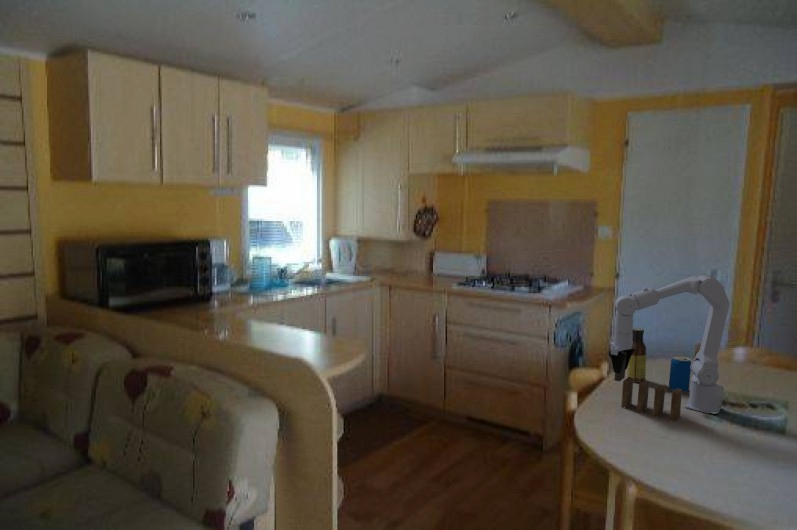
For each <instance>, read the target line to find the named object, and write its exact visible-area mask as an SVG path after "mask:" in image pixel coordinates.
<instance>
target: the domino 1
mask: <svg viewBox="0 0 797 530" xmlns="http://www.w3.org/2000/svg"><path fill="white" fill-rule="evenodd" d="M621 353H622V354H625V355H626V354H627V352H621ZM625 366H626V358H625V360H624V363H623V367H622V371H621V373H620V374H619V373H614V381H616V382H621V381H622V380H625V379H626V370H625Z"/></svg>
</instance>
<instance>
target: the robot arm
mask: <svg viewBox="0 0 797 530" xmlns="http://www.w3.org/2000/svg"><path fill="white" fill-rule="evenodd" d="M683 293H689V294H694V295H698V294H699V295H701V296H703V297H704V299H705V300H706V301H707V303H708V304H709V305H710V306H709V310H708V314H707V319H706V323H705V327H704V331H703V335H702V340H701V343H700V347H699V348H700V349H699V351H698V352H697V353H696V354H695V358H694V359H693V360H692V361H691V366H690V369H691V373H692V376H691V377H690V385H689V397H688V398H689V399H688V402H687V403H686V404H685V406H684V408H686V409H690V410H693V411H697V412H702V413H706V414H709V413H711V412H718V410H719V408H721V407H722V408H723V399H724V386H723V385H721V384H718V383H717V382H718V381H719V377H720V373H719V370H718V368H719V360H718V355H719V349H720V346H721V343H722V342H721V341H722V339H723V335H724V334H723V333H724V329H725V325H726V322H727V317H728V314H729V309H730V304H731V303H730V301H729V297H728V295H727V293H726V290H725V286H724V285H723V284H722V283H721V281H719V280H717V279H716V278H713V277H711V276H710V275H708V274H706V273H699V274H697V275H692V276H688V277H686V278H684V279H681V280H678V281H676V282H673V283H671V284H668V285H666V286H663V287H660V288H657V289H654V288H652V287H647V286H645V287H642V290H639V291H636V292H634V293H632V292H629V293H627V295H621V296H618V297H617V298H616V299H615V302H614V307H615V309H616V310H615V311H616V312H615V318H614V329H613V341H610V342H609V345H610V346H611V349H610V350H609V351H608V356H609V357H610V362H611V365H612V370H613V373H614V374H615V373H619V374H620V373H621V371H622V367H623V363H624V360H625V358H626V366H625V371H626V370H628V364H629V361H630V358H631V356H632V354H633V353H634V351H635V349H633V348H632V344H633V341H632V331H633V328H634V314H635V313H636V311H640V310H642V309H643V310H644V309H646V308H649V307H652V306H656V305H658V304H659V302H660V300H661V299H665V298H668V297H672V296H676V295H680V294H683ZM621 352H627V354H626V355H625V354H622V353H621Z"/></svg>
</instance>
